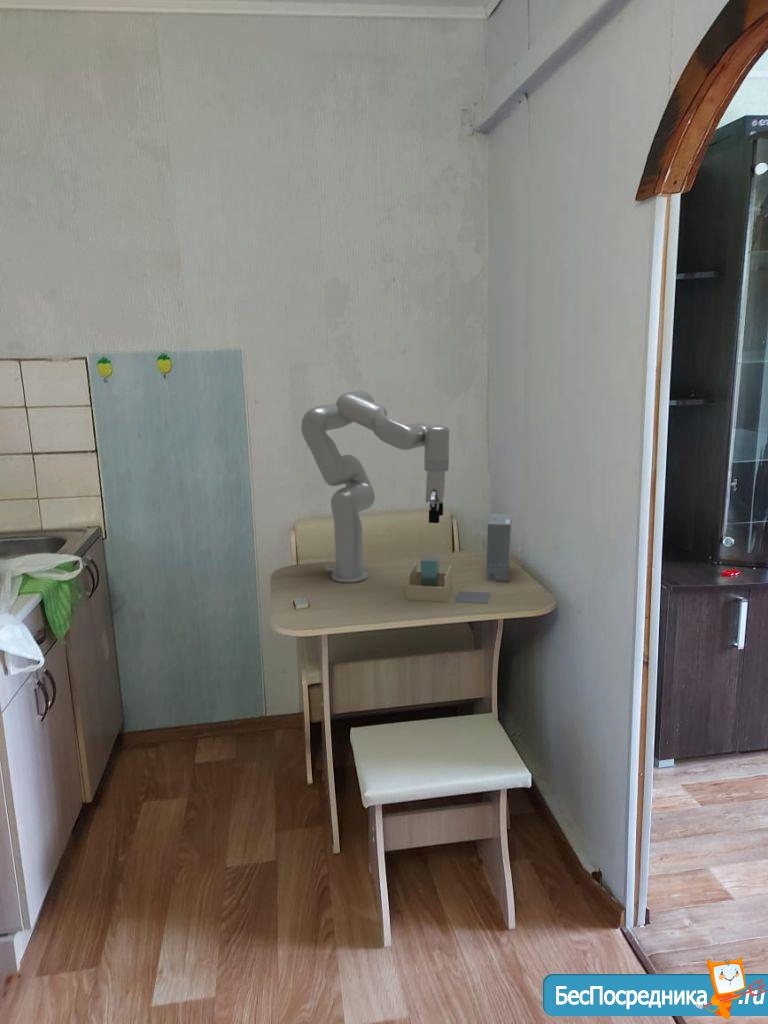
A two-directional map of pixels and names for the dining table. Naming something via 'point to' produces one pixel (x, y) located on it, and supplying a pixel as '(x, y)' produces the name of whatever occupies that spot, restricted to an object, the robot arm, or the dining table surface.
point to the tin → (430, 570)
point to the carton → (426, 592)
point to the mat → (472, 597)
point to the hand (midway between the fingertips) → (436, 518)
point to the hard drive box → (498, 547)
